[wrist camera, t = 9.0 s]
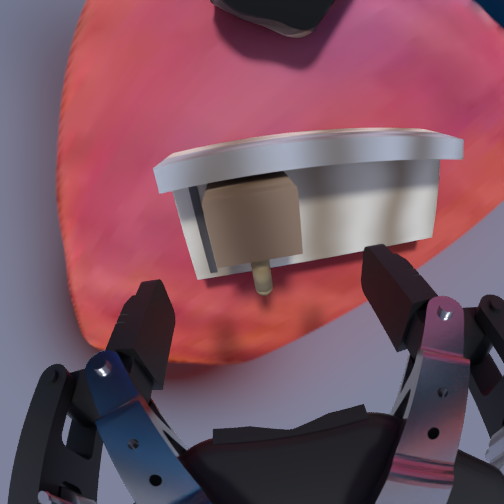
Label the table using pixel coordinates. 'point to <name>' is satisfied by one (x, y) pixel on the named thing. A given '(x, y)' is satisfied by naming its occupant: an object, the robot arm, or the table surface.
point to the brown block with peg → (253, 222)
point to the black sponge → (279, 14)
